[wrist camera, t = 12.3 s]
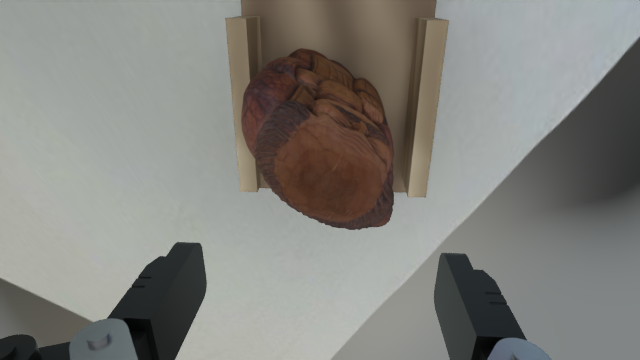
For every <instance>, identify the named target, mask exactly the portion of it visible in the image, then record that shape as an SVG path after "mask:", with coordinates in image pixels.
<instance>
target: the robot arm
mask: <svg viewBox="0 0 640 360" xmlns="http://www.w3.org/2000/svg"><path fill="white" fill-rule="evenodd" d="M206 284H207V282H206V273H205V266H204V259H203V252H202V247H201V244H200V243H186V242H177V243H175V245H174V246H173V247H172V249H171V250H170V252H169V253H168V255H167V256H166V257H163V256H160V257H158V258H157V259H155V260H154V261H152V262H151V263H150V264H148V265H147V266H146V267H145V268H144V270H143V271H142V272H141V274H140V275H139V276H138V279H136V280H135V282H134V283H133V284H132V287H131V288H129V290H128V291H127V292H126V294H125V295H124V296H123V298H122V299H121V300H120V302H119V303H118V304H117V306H116V307H115V308H114V310H113V311H112V312H111V314H110V315H109V316H108V318H107V319H103V320H99V321H96V322H94V323H91V324H90V325H88V326H86V327H84V328H83V329H81V330H80V331H79V332H78V333H77V334H76V335H75V336H74V338H73V339H72V341H71V342H67V343H62V344H57V345H52V346H46V347H41V348H38V346H37V343H36V341H35V339H34V338H33V337H31V336H29V335H22V334H21V335H13V336H9V337H5V338H3V339H0V360H175V358H176V356H177V354H178V352H179V350H180V348H181V346H182V343H183V341H184V339H185V337H186V335H187V333H188V331H189V329H190V327H191V324H192V322H193V320H194V318H195V316H196V314H197V312H198V310H199V308H200V305H201V303H202V301H203V299H204V296H205V293H206ZM434 303H435V310H436V313H437V317H438V320H439V323H440V327H441V330H442V333H443V337H444V340H445V344H446V347H447V351H448V354H449V357H450V360H552V359H551V358H550V357H549V355H548V354H547V353H546V352H545V351H544V350H542V349H541V348H539V347H538V346H537V345H535V344H533V343H531V342H529V341H527V339H526V338H525V336H524V334H523V332H522V330H521V328H520V326H519V325H518V323H517V321H516V319H515V317H514V315H513V313H512V312H511V310H510V308H509V306H508V305H507V302H506V300H505V299H504V297H503V295H501V291H500V289H499V287H498V286H497V284H496V282H495V280H494V279H492V278H491V277H490V276H489V275H488V274H487V273H485V272H484V271H483V270H473V267H472V265H471V263H470V261H469V259H468V257H467V255H466V254H458V253H442V254H441V255H440V259H439V265H438V272H437V278H436V284H435V290H434Z"/></svg>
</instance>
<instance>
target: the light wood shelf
mask: <svg viewBox="0 0 640 360" xmlns="http://www.w3.org/2000/svg"><path fill="white" fill-rule="evenodd" d="M435 8H436V0H241V9H242V16H239V17H232V18H225V19H226V30H227V42H228V54H229V65H230V77H231V89H232V100H233V112H234V124H235V135H236V147H237V159H238V171H239V182H240V191H241V192H258V189H259V188H271V187H269V186H268V185H267V183H266V181H265V180H264V178H263V174H261V173H260V172H261V170H260V168H259V167H258V164H257V161H256V159H255V158H254V157H253V155H252V154H251V152H250V151H249V149H248V147H247V145H246V142H245V138H244V135H243V132H242V126H241V112H242V104H243V96H244V92H245V90H246V88H247V86H248V84H249V83H250V81H251V80H252V79H253V78H254V77H255V76H256V75H257V74H258V73H259V72H260V71H262V70H263V68H264V67H265V66H266V65H267V64H268V63H269V62H271V61H273V60H275V59H277V58H279V57H287V56H289V55H290V54H291V53H292V52H294V51H295V50H297V49H300V48H303V49H310V50H314V51H317V52H319V53H321V54H323V55H324V56H325V57H327V59H328V60H335V61H337V62H339V63H341V64H342V65H343V66H344V67H345V68H347V69H348V71H349V72H350V73H351V74H352V76H353V77H354V78H355V79H359V78H365V79H367V80H368V81H369V82H370V83H371V84H372V85H373V86H374V87H375V88H376V90H377V92H378V94H379V97H380V99H381V101H382V104H383V108H384V111H385V116H386V119H387V122H388V127H389V129H390V132H391V135H392V140H393V147H394V158H393V166H394V169H393V176H394V182H393V186H392V190H393V192H406V193H407V196H408V197H426V191H427V184H428V176H429V168H430V161H431V153H432V145H433V138H434V130H435V122H436V115H437V107H438V99H439V92H440V84H441V76H442V69H443V61H444V53H445V46H446V38H447V30H448V23H449V20H444V19H438V18H434V17H435Z"/></svg>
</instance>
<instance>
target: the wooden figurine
mask: <svg viewBox="0 0 640 360" xmlns="http://www.w3.org/2000/svg"><path fill="white" fill-rule="evenodd" d="M241 126H242V132H243V135H244V138H245V142H246V145H247V147H248V149H249V151H250V152H251V154H252V155H253V157H254V158H255V159H256V161H257V164H258V167H259V168H260V170H261V172H260V173H261V174H263V178H264V180H265V181H266V183H267V185H268V186H269V187H271V188H272V191H273V192H274V193H275V194H276V195H278V196H279V197H280V199H281V200H282V201H284V202H286V203H287V204H288V205H289V206H290V207H292V208H294V209H295V210H297V211H298V212H302V214H303V215H306V216H308V217H309V218H312V219H315V220H317V221H319V222H320V223H325V225H330V226H332V227H337V228H346V229H349V230H355V229H358V230H360V229H362V228H368V227H380V226H383V225H385V224H386V223H387V222H388V221H389V220H390V217H391V214H392V211H393V209H392V206H393V204H394V193H393V190H392V186H393V182H394V176H393V169H394V166H393V158H394V147H393V140H392V135H391V132H390V129H389V127H388V122H387V119H386V116H385V111H384V108H383V104H382V101H381V99H380V97H379V94H378V92H377V90H376V88H375V87H374V86H373V85H372V84H371V83H370V82H369V81H368V80H367V79H365V78H359V79H355V78H354V77H353V76H352V74H351V73H350V72H349V71H348V69H347V68H345V67H344V66H343V65H342V64H341V63H339V62H337V61H335V60H328V59H327V57H325V56H324V55H323V54H321V53H319V52H317V51H314V50H310V49H303V48H300V49H297V50H295V51H294V52H292V53H291V54H290V55H289V56H287V57H279V58H277V59H275V60H273V61H271V62H269V63H268V64H267V65H266V66H265V67H264V68H263V70H262V71H260V72H259V73H258V74H257V75H256V76H255V77H254V78H253V79H252V80H251V81H250V83H249V84H248V86H247V88H246V90H245V92H244V96H243V104H242V112H241Z"/></svg>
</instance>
